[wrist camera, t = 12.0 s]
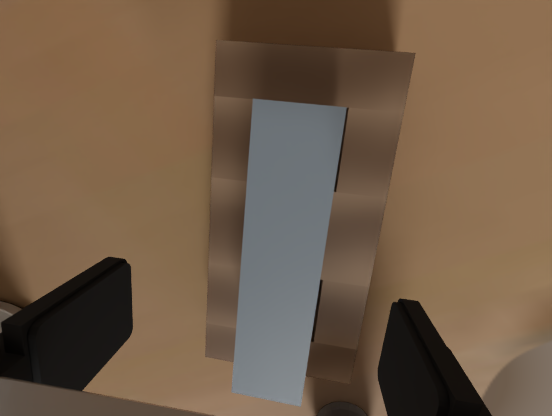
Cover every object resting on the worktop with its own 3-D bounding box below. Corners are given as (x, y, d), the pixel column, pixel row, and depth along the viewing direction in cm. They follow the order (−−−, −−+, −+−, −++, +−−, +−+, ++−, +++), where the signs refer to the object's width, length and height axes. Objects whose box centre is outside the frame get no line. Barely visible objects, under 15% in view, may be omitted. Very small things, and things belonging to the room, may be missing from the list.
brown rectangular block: (345, 342, 24) (349, 384, 20) (223, 321, 25) (205, 356, 21) (395, 68, 18) (415, 52, 15) (236, 56, 20) (216, 39, 16)
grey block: (282, 110, 20) (252, 98, 11) (335, 115, 20) (346, 107, 11) (263, 296, 24) (231, 392, 15) (308, 303, 23) (300, 406, 15)
